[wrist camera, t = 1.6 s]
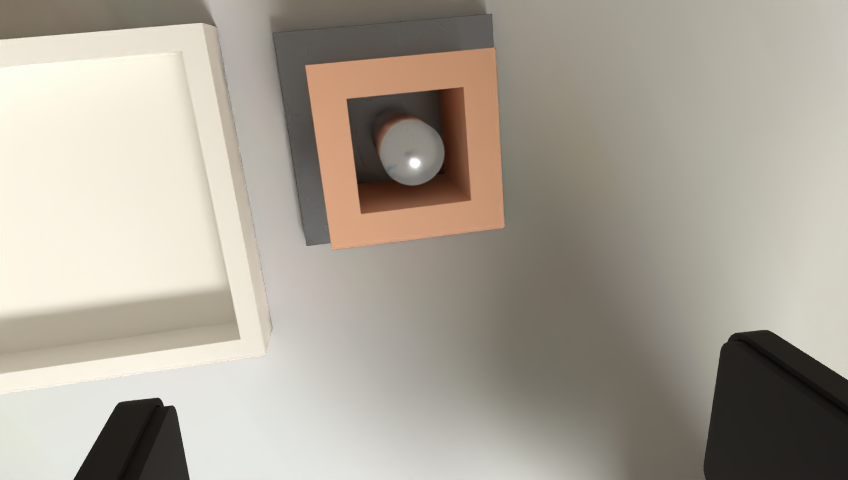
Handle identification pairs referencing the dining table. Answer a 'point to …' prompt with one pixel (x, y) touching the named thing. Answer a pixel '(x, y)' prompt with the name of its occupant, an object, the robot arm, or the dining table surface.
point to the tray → (122, 209)
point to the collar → (461, 135)
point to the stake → (370, 105)
